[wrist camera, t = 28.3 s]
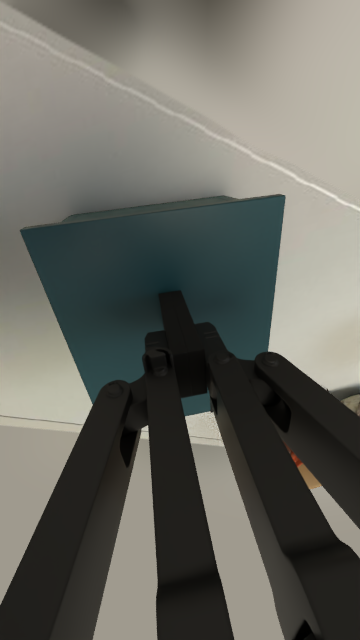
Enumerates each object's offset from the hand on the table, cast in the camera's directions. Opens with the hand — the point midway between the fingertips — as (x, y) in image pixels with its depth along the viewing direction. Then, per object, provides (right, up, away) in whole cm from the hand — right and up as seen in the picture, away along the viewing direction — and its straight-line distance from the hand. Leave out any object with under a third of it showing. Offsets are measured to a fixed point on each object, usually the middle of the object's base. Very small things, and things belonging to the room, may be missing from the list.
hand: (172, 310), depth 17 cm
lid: (0, -2, +2) cm, 3 cm away
